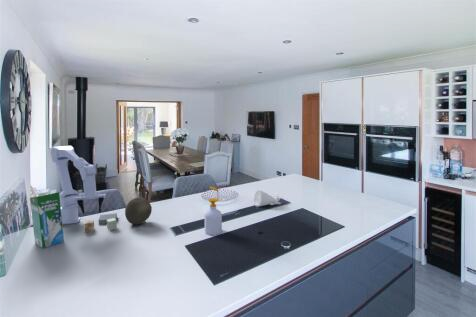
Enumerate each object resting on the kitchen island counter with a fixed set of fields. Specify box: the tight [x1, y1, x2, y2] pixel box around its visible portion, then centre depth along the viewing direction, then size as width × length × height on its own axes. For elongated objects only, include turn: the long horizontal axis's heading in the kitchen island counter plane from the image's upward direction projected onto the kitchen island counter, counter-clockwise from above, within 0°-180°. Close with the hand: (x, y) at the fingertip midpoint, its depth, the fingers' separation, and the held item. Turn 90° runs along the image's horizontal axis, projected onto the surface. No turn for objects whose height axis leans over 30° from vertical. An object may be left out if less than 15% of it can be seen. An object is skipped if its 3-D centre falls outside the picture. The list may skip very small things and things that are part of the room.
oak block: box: [83, 219, 95, 234], centre depth 145 cm, size 4×4×5 cm
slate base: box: [97, 212, 118, 225], centre depth 159 cm, size 9×9×2 cm
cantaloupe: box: [124, 197, 153, 226], centre depth 154 cm, size 14×14×15 cm
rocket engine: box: [253, 189, 282, 208], centre depth 190 cm, size 12×12×18 cm
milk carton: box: [29, 191, 65, 249], centre depth 130 cm, size 9×9×25 cm
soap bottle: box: [203, 185, 223, 236], centre depth 143 cm, size 9×9×25 cm
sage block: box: [106, 218, 118, 231], centre depth 148 cm, size 4×4×5 cm
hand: (91, 212), depth 146 cm, fingers open, 7 cm apart
